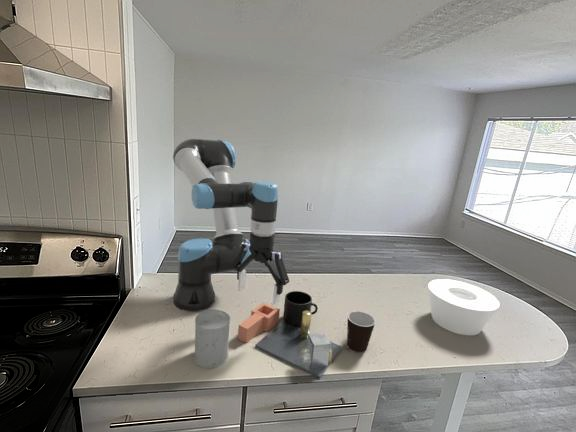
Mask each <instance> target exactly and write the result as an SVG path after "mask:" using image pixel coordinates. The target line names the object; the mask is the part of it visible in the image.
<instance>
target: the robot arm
mask: <svg viewBox="0 0 576 432" xmlns="http://www.w3.org/2000/svg"><path fill="white" fill-rule="evenodd" d="M236 158H237V156H236V152H235V148H234V146H233V144H232V143H230V141H226V140H221V139H217V140H214V139H200V138H199V139H197V138H190V139H186V140H184V141H182V142H181V143H179V144H177V146H176V148H174V150H173V155H172V159H173V163H174V164H175V167H176V168H177V169H178V170H179V171H182V172H183V174H184V176H185V177H186V179H187V180H188V182H189V184H190V186H192V188H191V201H192V205H193V207H194V208H195V209H200V210H201V209H205V210H210V209H212V212H213V219H214V227H215V233H216V234H215V235H214V237H213V238H212V239H213V242H212V240H211V239H209V238H205V237H203V238H202V237H198V238H191V239H188V240H186V241H184V242H183V243H182V244H180V246H179V248H178V254H177V255H178V256H177V260H178V265H177V266H178V268H177V269H178V270H177V271H178V274H177V275H178V276H177V277H178V280H177V281H178V282H177V285H176V288H175V291H174V293H173V295H172V296H173V297H172V298H173V299H172V301H173V303H172V304H173V305H174V307H175V308H177V309H179V310H181V311H184V312H185V311H186V312H198V311H202V310H203V311H204V310H206V309H208V308H210V307H212V306H213V305H214V304H215V302H216V293H215V290H214V286H213V283H212V275H214V274H222V273H227V272H228V273H229V272H236V273H237V275H236V279H237V280H238V284H237V285H238V286H237V290H238V291H239V292H241V291H242V290H244V289H245V288H246V275H247V274H246V273H247V270H246V268H247V267H248V266H249V264H250V263H251V262H252V261H255V262H259V263H260V264H264V265H265V267H267V269H268V271H269V273H270V274H271V276H272V278H273V280H274V282H275V284H274V285H273V296H272V298H273V299H272V305H276V304H278V303H279V302H280V300H281V299H280V298H281V294H283V291H284V290H283V289H284V286H286V285H288V284H289V283H290V278H289V276H288V272H287V270H286V266H285V263H284V260H283V252H282V251H279V252H276V251H274V246H275V239H276V238H275V237H276V236H275V233H276V223H277V221H276V220H277V219H276V218H277V211H278V200H279V186H278V184H277V183H276V182H275V183H274V182H271V181H265V180H263V181H255V182H252V181H241V182H239V183H231V182H232V181H231V176H230V175H231V174H232V173H233V169H234V168H235V167H236V163H237V161H236ZM236 208H249V209H251V215H250V216H251V217H250V233H249V240H248V239H247V238H244V233H242V232H241V231H240V230H239V226H238V219H237V214H236Z"/></svg>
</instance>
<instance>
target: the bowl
mask: <svg viewBox="0 0 576 432" xmlns="http://www.w3.org/2000/svg"><path fill="white" fill-rule="evenodd" d="M427 285H428V294H429V295H428V296H429V305H430V314H431V318H432V320H433V322H435V323H436V324H437V325H438V326H440V327H441V328H443V329H445V330H447V331H449V332H451V333H455V334H458V335H462V336H476V335H479V334H480V333H481V332H482V331H483V329H484V327H486V325H487V323H488V322H489V321H490V320H491V318H492V317H493V316H494V314H495V313H496V312H497V310H498V309H499V307H500V304H501V303H500V301H499V300H498V299H497V298H496V296H495V295H494V294H492V293H490V292H489V291H487V290H484V289H483V288H481V287H479V286H476V285H473V284H470V283H467V282H464V281H460V280H455V279H447V278H445V279H444V278H440V279H439V278H437V279H432V280H431V281H430V282H428V284H427Z"/></svg>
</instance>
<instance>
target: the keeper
mask: <svg viewBox="0 0 576 432" xmlns="http://www.w3.org/2000/svg"><path fill="white" fill-rule="evenodd" d="M308 338H309V340H310V342H311V344H312V346H313V347H312V355H311V363H310V366H311V368H314V367H323V366H328V362H331V356H332V350H331V349H330V346H331V343H330V342H331V341H330V340H329V337H328V336H327V334H326V333H325V332H323V331H321V332H320V331H319V332H309V333H308ZM329 341H330V342H329ZM331 363H332V362H331ZM328 367H329V366H328Z"/></svg>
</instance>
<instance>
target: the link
mask: <svg viewBox="0 0 576 432" xmlns="http://www.w3.org/2000/svg"><path fill="white" fill-rule="evenodd" d="M280 311H281V309H280V308H278V307H275V306H273V305H270V304H268V303H265V302H262V303H261V304H259V305H258V306H256V307H255V308H254V309H252V310H251V311H250V312H251V313H250V316H249V317H247V318H246V319H245V320H244V321H242V322H240V324H238V329H237V330H238V331H237V340H240V341H241V342H244V343H245V344H247V343H249V342H250V341H251V340H252V339H254V338H255V337H256V336H257V335H259V333H261V332H262V331H266V332H269V331H270V330H271V329H272V328H274V327H275V326H276V325H278V324H279V321H280Z"/></svg>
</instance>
